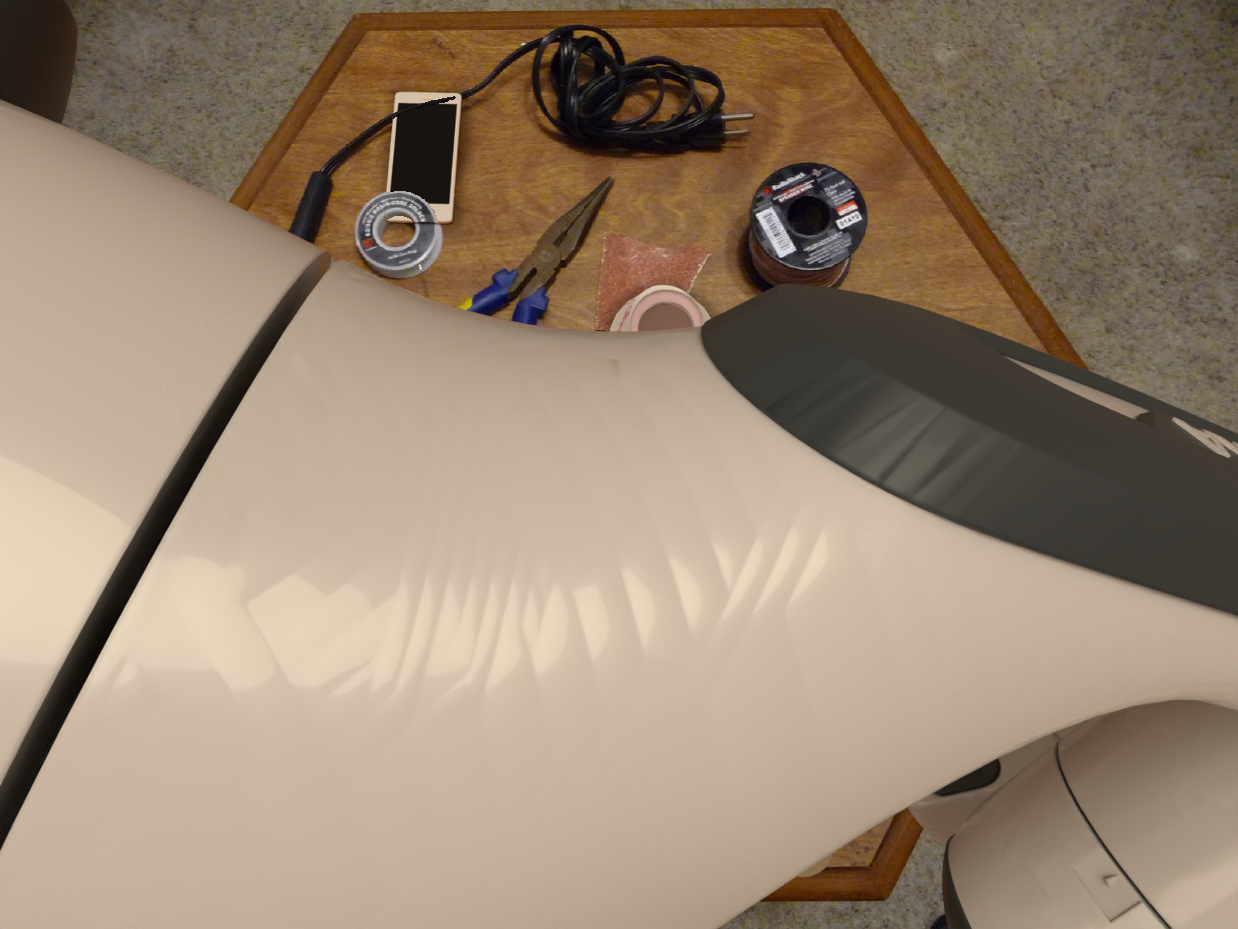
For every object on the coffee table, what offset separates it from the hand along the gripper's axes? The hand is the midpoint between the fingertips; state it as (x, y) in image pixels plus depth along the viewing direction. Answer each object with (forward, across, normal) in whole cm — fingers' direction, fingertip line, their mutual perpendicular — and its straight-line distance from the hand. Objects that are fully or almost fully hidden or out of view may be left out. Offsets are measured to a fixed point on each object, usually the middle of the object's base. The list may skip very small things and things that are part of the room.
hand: (927, 528), depth 42 cm
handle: (+11, +25, +34) cm, 44 cm away
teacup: (+44, +8, +5) cm, 45 cm away
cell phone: (+66, +18, -22) cm, 71 cm away
